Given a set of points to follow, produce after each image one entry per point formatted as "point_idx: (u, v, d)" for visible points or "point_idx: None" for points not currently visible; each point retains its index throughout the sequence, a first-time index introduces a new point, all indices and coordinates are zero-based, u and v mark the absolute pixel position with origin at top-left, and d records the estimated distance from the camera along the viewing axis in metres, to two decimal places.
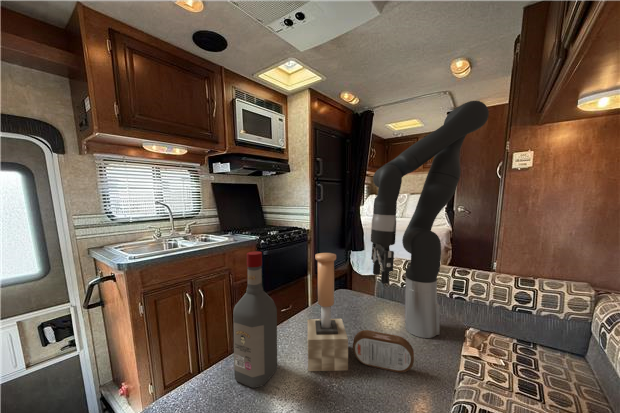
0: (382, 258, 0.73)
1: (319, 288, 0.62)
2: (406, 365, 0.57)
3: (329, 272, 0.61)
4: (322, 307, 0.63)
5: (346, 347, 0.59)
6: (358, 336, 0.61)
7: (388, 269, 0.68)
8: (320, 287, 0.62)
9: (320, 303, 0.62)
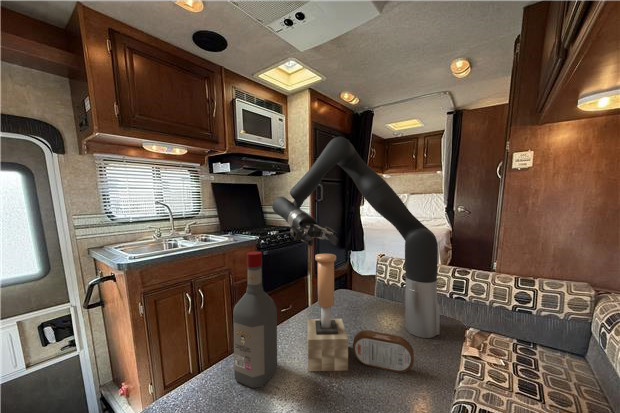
0: None
1: (319, 289, 0.62)
2: (406, 365, 0.57)
3: (329, 273, 0.61)
4: (322, 308, 0.63)
5: (346, 347, 0.59)
6: (358, 336, 0.61)
7: (295, 236, 0.69)
8: (320, 287, 0.62)
9: (320, 304, 0.62)
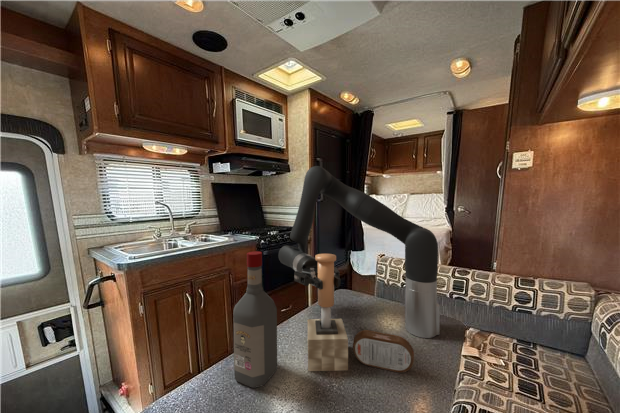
0: None
1: (319, 289, 0.62)
2: (406, 365, 0.57)
3: (329, 273, 0.61)
4: (322, 308, 0.63)
5: (346, 347, 0.59)
6: (358, 336, 0.61)
7: (304, 281, 0.63)
8: None
9: (320, 304, 0.62)
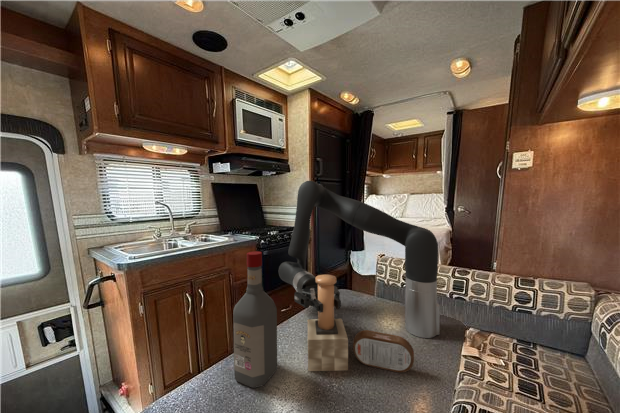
0: None
1: None
2: (406, 365, 0.57)
3: (329, 295, 0.61)
4: None
5: (346, 347, 0.59)
6: (358, 336, 0.61)
7: (304, 303, 0.64)
8: None
9: (320, 326, 0.62)
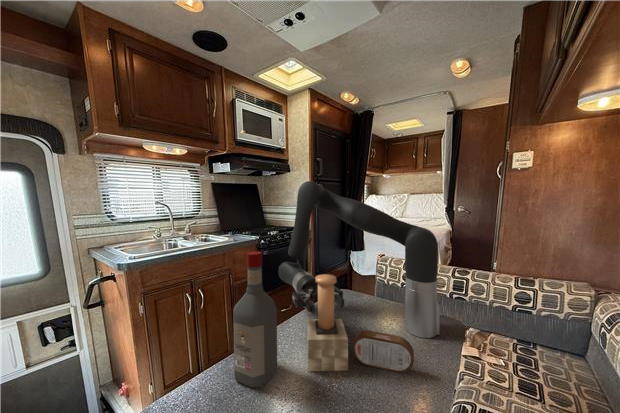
0: None
1: (319, 311, 0.62)
2: (406, 365, 0.57)
3: (329, 295, 0.61)
4: None
5: (346, 347, 0.59)
6: (358, 336, 0.61)
7: (297, 304, 0.64)
8: (320, 309, 0.62)
9: (320, 326, 0.62)
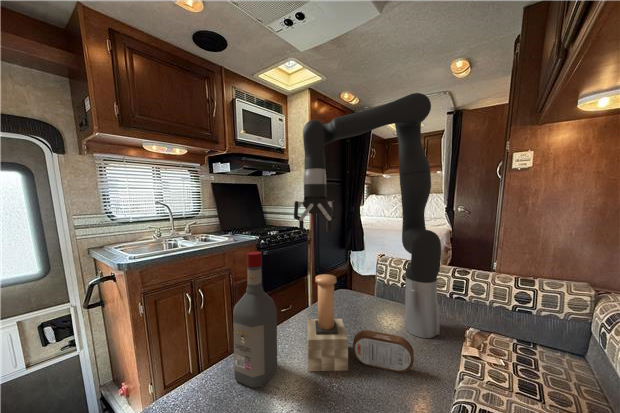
0: None
1: (319, 311, 0.62)
2: (406, 365, 0.57)
3: (329, 295, 0.61)
4: None
5: (346, 347, 0.59)
6: (358, 336, 0.61)
7: None
8: (320, 309, 0.62)
9: (320, 326, 0.62)
